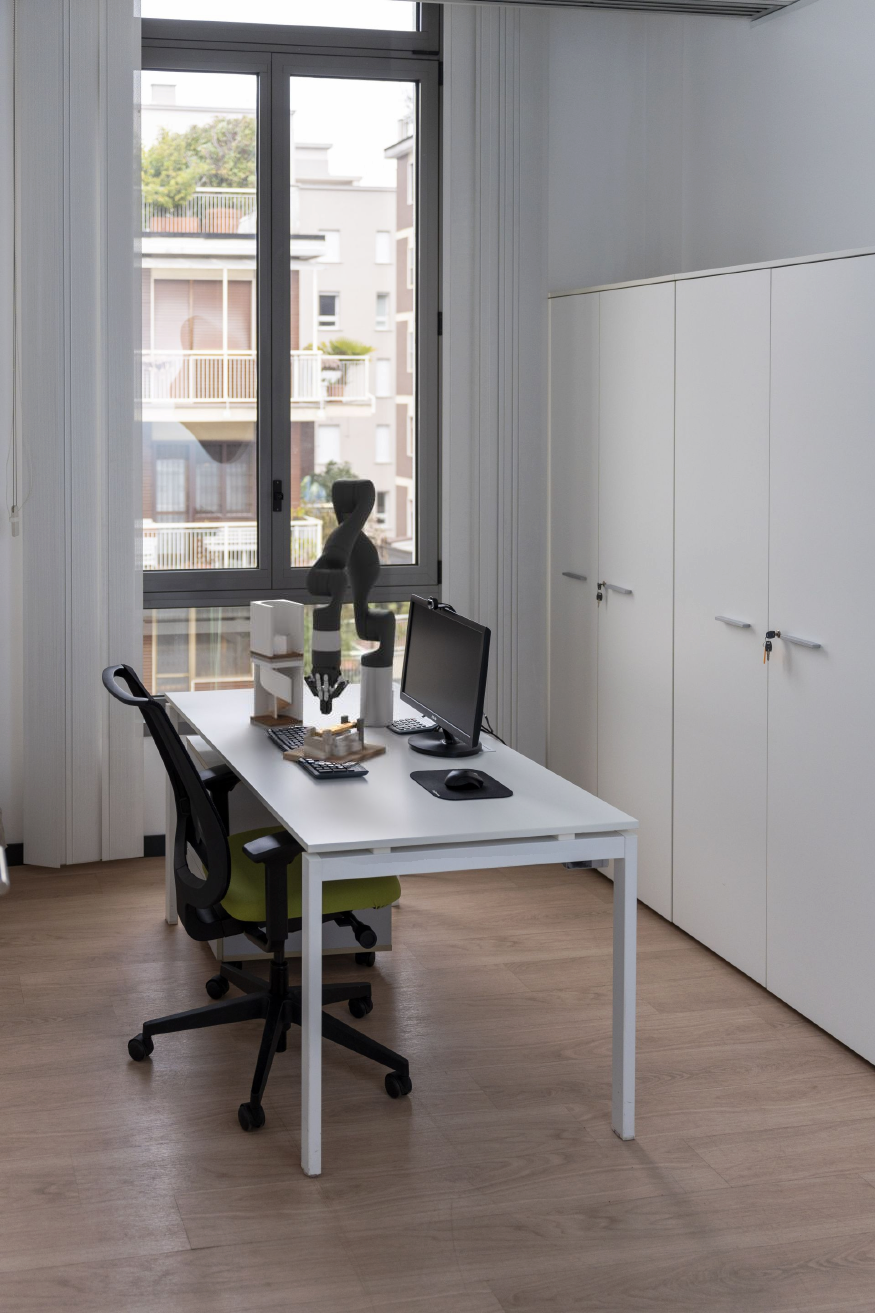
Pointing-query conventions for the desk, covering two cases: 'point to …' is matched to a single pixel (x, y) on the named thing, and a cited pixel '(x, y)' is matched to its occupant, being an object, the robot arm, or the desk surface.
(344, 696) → the desk surface
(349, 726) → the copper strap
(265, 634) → the display case
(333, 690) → the robot arm
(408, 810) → the desk surface
